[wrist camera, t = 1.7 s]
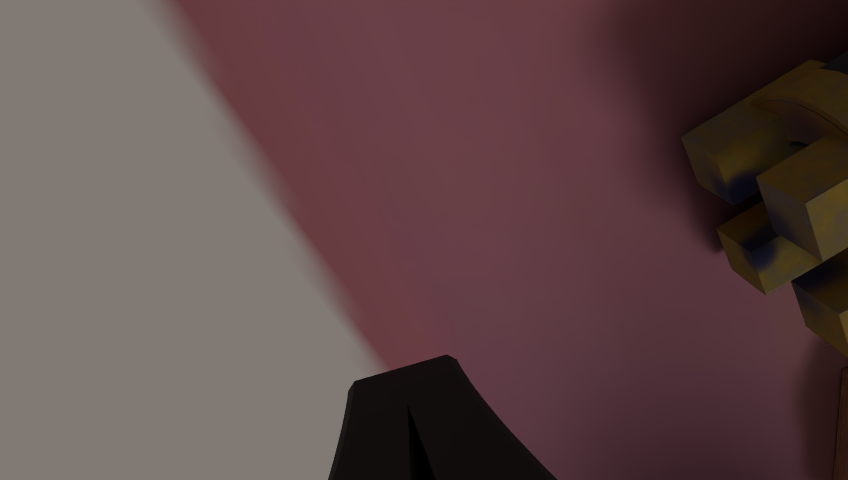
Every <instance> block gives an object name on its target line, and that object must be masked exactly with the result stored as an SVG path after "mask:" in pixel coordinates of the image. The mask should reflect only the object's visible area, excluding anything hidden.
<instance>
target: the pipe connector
mask: <svg viewBox="0 0 848 480" xmlns="http://www.w3.org/2000/svg"><path fill="white" fill-rule="evenodd" d="M681 140H682V142H683V145H684V147H685V150H686V152H687V155H688V158H689V160H690V163H691V165H692V168H693V170H694V173H695V176H696V178H697V181H698V183H699V185H701V186H702V187H704V188H705V189H707V190H709V191H710V192H712V193H714V194H715V195H717V196H718V197H720V198H722V199H723V200H725V201H726V202H728V203H730V204H731V205H733V206H734V205H736V204H737V203H739V202H741V201H743V200H744V199H746V198H748V197H749V196H751V195H753V194H754V193H756V192H758V191H761V194H762V197H763V201H762V202H760V203H758V204H757V205H755V206H753V207H752V208H750V209H748V210H746V211H745V212H743V213H741V214H740V215H738V216H736V217H734V218H733V219H731V220H729V221H728V222H726V223H724V224H723V225H721V226H719V227H717V228H716V230H717V232H718V235H719V237H720V240H721V243H722V245H723V248H724V250H725V253H726V255H727V258H728V261H729V263H730V266H731V268H732V270H734V271H735V272H736V273H737V274H739V275H740V276H741V277H743V278H744V279H745V280H747V281H748V282H749V283H750V284H752V285H753V286H754V287H756V288H757V289H758V290H760V291H761V292H762V293H763V294H765V295H768V294H770V293H771V292H773V291H775V290H777V289H778V288H780V287H782V286H784V285H785V284H787V283H789V282H790V281H791V283H792V286H793V289H794V292H795V295H796V298H797V301H798V304H799V307H800V310H801V312H802V315H803V318H804V321H805V324H806V327H808V328H809V329H810V330H812V331H813V332H814V333H816V334H817V335H818V336H819V337H821V338H822V339H823V340H825V341H826V342H827V343H829V344H830V345H831V346H832V347H834V348H835V349H836V350H838V351H839V352H840V353H842V354H843V355H844V356H845V357H847V358H848V51H847V52H845V53H843V54H842V55H840V56H838V57H837V58H835V59H833V60H832V61H830V62H828V63H823V62H819V61H815V60H811V59H809V60H808V61H806V62H804V63H803V64H801V65H799V66H798V67H796V68H794V69H793V70H791V71H789V72H788V73H786V74H784V75H783V76H781V77H779V78H778V79H776V80H774V81H773V82H771V83H769V84H768V85H766V86H764V87H763V88H761V89H759V90H758V91H756V92H754V93H753V94H751V95H749V96H748V97H746V98H744V99H743V100H741V101H739V102H738V103H736V104H734V105H733V106H731V107H729V108H728V109H726V110H724V111H723V112H721V113H719V114H718V115H716V116H714V117H713V118H711V119H709V120H708V121H706V122H704V123H703V124H701V125H699V126H698V127H696V128H694V129H693V130H691V131H689V132H688V133H686V134H684V135H683V136H681Z"/></svg>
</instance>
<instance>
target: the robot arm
mask: <svg viewBox="0 0 848 480" xmlns="http://www.w3.org/2000/svg"><path fill="white" fill-rule="evenodd" d="M328 480H557V479H556V478H555V477H554V476H553V475H552V474H551V473H550V472H549V471H548V470H547V469H546V468H545V467H544V466H543V465H542V464H541V463H540V462H539V461H538V460H537V459H536V458H535V457H534V456H533V455H532V453H531V452H530V451H529V450H528V449H527V448H526V447H525V446H524V445H523V444H522V443H521V442H520V441H519V440H518V439H517V438H516V437H515V436H514V434H513V433H512V432H511V431H510V430H509V429H508V428H507V427H506V426H505V424H504V423H503V422H502V421H501V420H500V419H499V418H498V416H497V415H496V414H495V413H494V411H493V410H492V409H491V408H490V407H489V405H488V404H487V403H486V402H485V401H484V399H483V398H482V397H481V395H480V394H479V393H478V391H477V390H476V389H475V388H474V386H473V385H472V383H471V382H470V381H469V379H468V378H467V376H466V374H465V373H464V371H463V370H462V368H461V367H460V365H459V363H458V361H457V359H455V358H453V357H451V356H449V355H444V356H440V357H437V358H433V359H430V360H426V361H423V362H419V363H416V364H412V365H409V366H405V367H402V368H398V369H395V370H392V371H388V372H385V373H381V374H378V375H374V376H371V377H367V378H364V379H361V380H357V381H355V382H354V383H353V385H352V386H351V388H350V389H349V391H348V398H347V404H346V410H345V415H344V420H343V424H342V429H341V433H340V438H339V442H338V445H337V449H336V453H335V457H334V461H333V464H332V468H331V472H330V475H329V478H328Z"/></svg>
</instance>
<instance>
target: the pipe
mask: <svg viewBox="0 0 848 480" xmlns="http://www.w3.org/2000/svg"><path fill="white" fill-rule="evenodd" d="M833 480H848V368H845V369H843V370H842V382H841V394H840V406H839V418H838V430H837V442H836V454H835V466H834V478H833Z"/></svg>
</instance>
